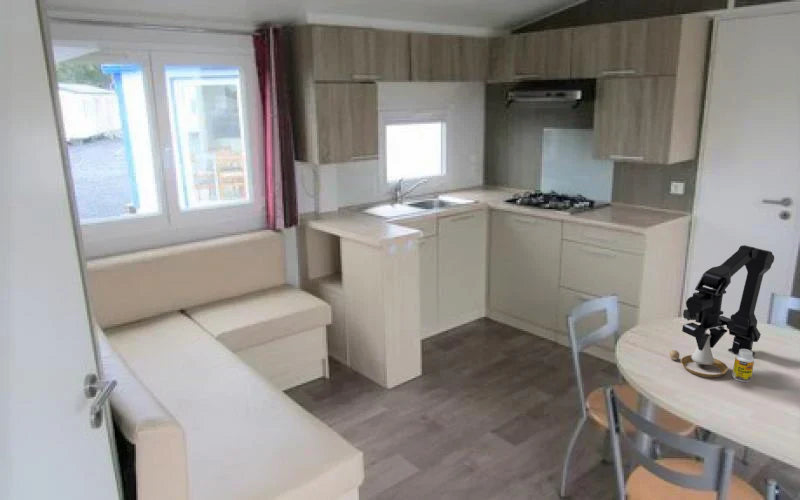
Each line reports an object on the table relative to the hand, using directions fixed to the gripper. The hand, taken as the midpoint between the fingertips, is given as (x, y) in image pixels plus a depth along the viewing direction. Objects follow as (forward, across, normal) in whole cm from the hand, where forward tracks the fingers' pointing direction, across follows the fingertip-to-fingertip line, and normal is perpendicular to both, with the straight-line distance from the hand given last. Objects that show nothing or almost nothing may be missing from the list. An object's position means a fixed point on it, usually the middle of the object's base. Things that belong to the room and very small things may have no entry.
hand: (705, 348), depth 204 cm
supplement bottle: (+8, -5, +11) cm, 14 cm away
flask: (+6, -1, -1) cm, 6 cm away
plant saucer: (+8, +1, +1) cm, 8 cm away
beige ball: (+6, +4, -9) cm, 11 cm away
